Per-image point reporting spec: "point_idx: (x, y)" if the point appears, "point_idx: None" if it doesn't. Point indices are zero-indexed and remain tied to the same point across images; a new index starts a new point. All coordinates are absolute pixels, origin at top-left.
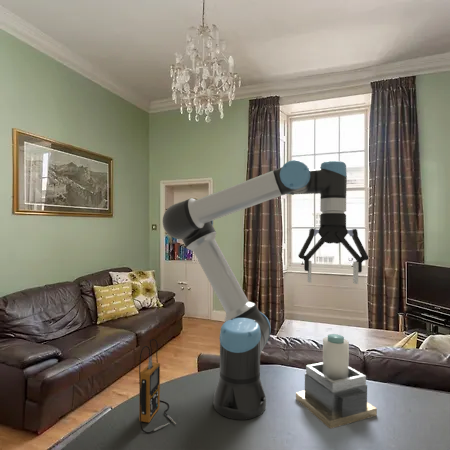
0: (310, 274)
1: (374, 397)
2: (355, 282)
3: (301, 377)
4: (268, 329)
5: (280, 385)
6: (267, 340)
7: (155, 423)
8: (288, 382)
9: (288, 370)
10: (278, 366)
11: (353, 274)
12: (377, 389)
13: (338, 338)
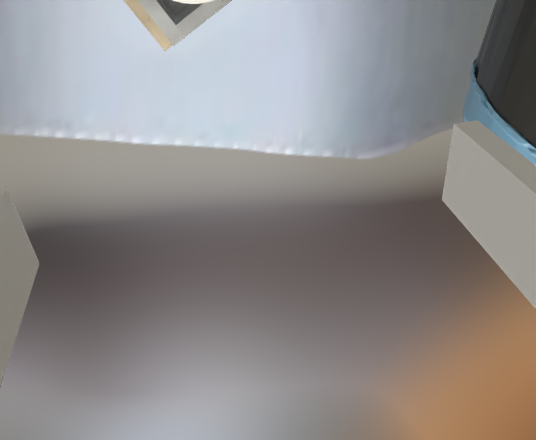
0: (507, 159)
1: (40, 20)
2: (3, 198)
3: (285, 96)
4: (501, 79)
5: (358, 17)
6: (475, 68)
7: None
8: (330, 47)
9: (325, 133)
10: (356, 151)
11: (18, 317)
12: (31, 83)
13: None
